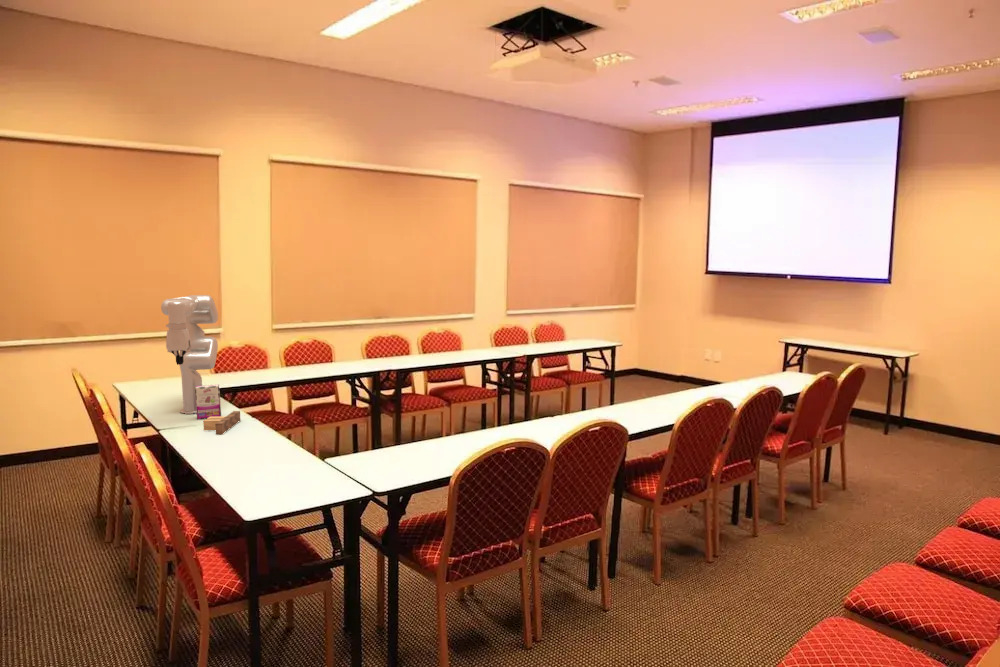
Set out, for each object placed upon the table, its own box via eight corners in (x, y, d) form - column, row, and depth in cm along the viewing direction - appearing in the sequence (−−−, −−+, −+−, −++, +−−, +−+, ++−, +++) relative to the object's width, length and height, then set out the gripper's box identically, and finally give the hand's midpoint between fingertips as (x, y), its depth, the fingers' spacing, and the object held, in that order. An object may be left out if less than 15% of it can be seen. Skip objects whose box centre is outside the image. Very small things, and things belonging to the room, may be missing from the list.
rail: (234, 420, 329) (233, 411, 329) (240, 420, 329) (239, 411, 329) (215, 434, 306) (215, 423, 305) (222, 434, 306) (221, 423, 305)
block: (210, 426, 320) (209, 416, 319) (227, 426, 320) (226, 416, 319) (203, 431, 312) (203, 420, 311) (221, 431, 312) (220, 420, 311)
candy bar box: (221, 415, 340) (219, 384, 338) (221, 417, 335) (219, 385, 333) (197, 417, 336) (195, 385, 334) (196, 419, 331) (195, 387, 329)
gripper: (158, 327, 316) (160, 365, 318) (190, 327, 317) (192, 365, 319) (165, 325, 324) (167, 362, 326) (196, 325, 324) (198, 362, 327)
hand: (179, 364), depth 323 cm, fingers closed
